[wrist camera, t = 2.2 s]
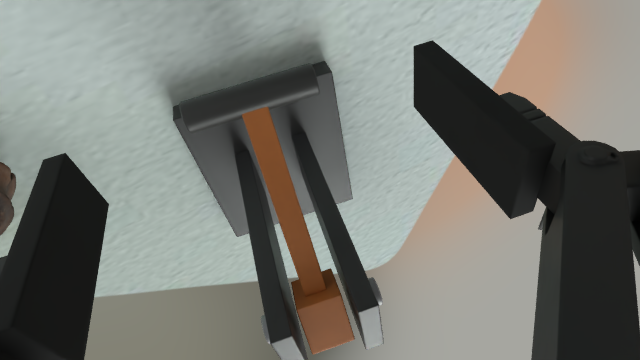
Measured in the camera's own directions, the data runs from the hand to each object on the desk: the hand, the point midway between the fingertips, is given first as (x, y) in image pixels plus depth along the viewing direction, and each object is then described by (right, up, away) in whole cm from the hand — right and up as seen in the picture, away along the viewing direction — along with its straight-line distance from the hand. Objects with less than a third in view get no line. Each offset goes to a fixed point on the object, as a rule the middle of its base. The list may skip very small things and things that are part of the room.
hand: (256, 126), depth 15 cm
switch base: (-1, 0, +14) cm, 14 cm away
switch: (+1, -4, +4) cm, 6 cm away
